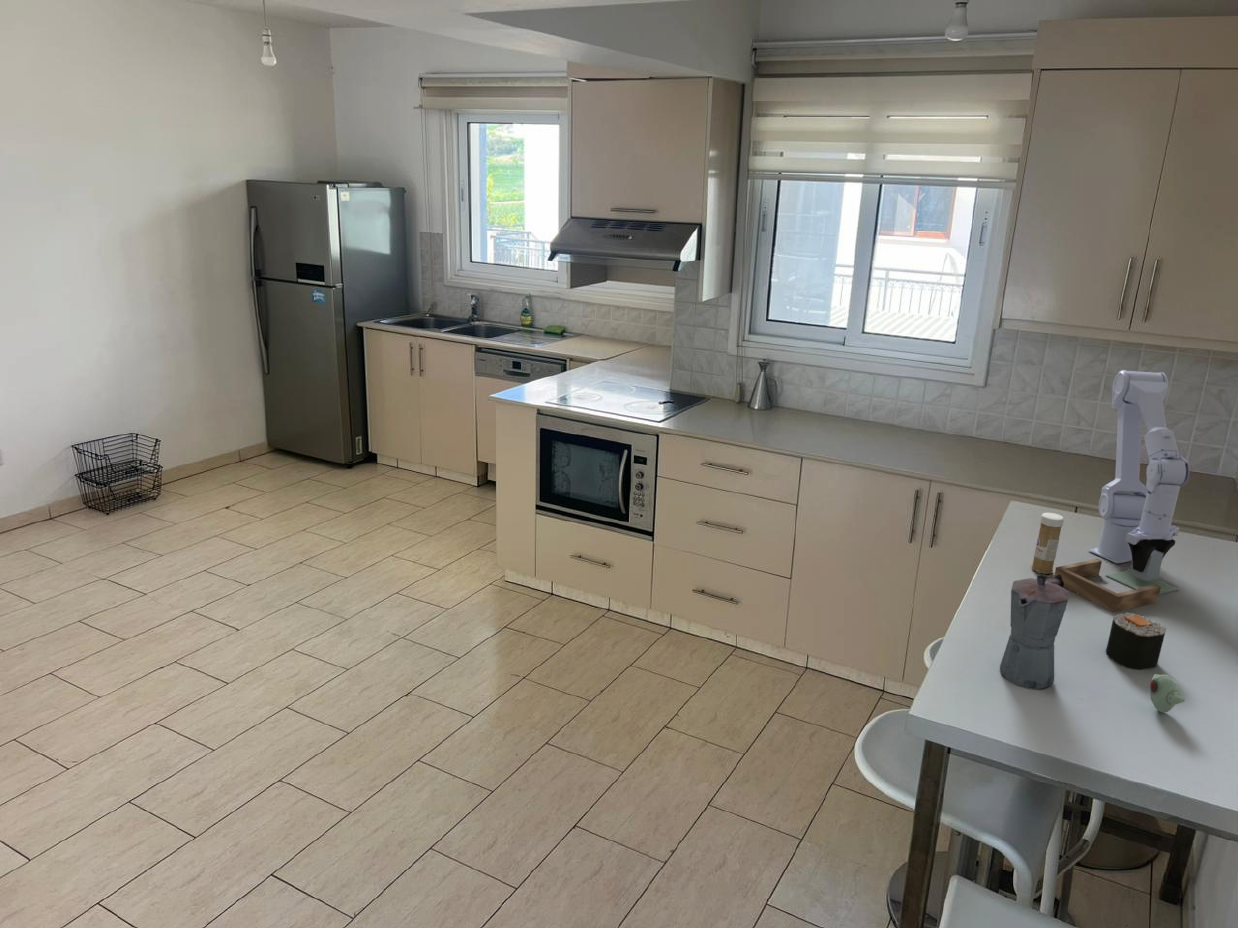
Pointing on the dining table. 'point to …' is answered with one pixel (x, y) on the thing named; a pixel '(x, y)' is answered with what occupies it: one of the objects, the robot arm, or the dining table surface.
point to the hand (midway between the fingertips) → (1144, 568)
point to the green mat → (1139, 582)
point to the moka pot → (1034, 631)
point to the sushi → (1135, 641)
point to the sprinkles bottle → (1047, 543)
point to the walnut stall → (1099, 594)
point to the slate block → (1150, 567)
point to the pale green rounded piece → (1164, 693)
